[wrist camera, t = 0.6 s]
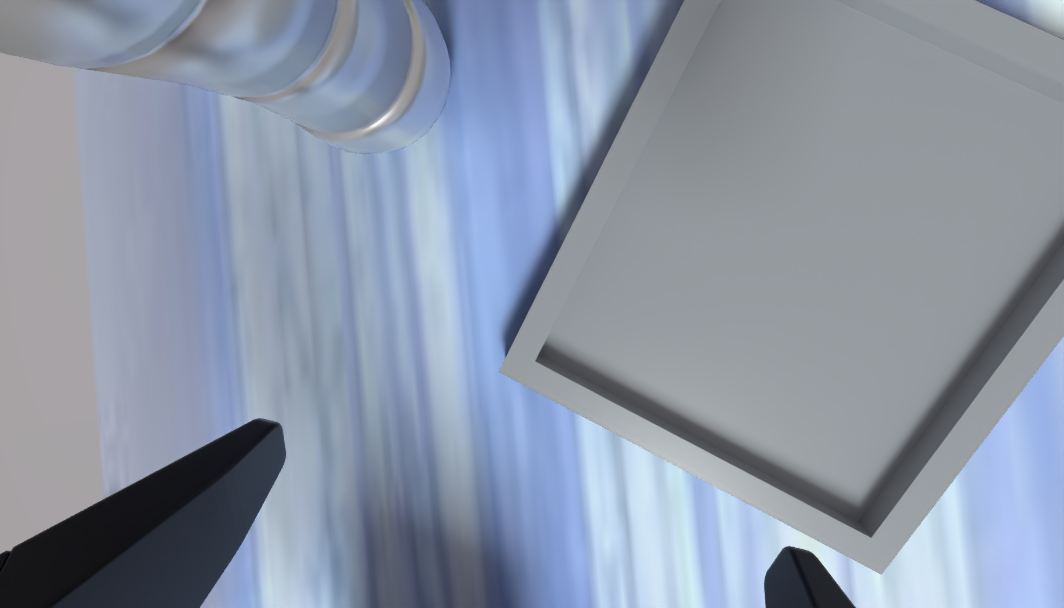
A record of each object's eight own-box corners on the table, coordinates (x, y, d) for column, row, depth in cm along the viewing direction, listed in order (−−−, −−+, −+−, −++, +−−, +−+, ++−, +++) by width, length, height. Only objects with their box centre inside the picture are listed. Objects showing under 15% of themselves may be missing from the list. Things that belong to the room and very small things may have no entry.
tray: (863, 550, 23) (881, 574, 21) (506, 361, 24) (498, 371, 22) (1180, 123, 19) (1232, 115, 17) (727, -81, 20) (737, -107, 18)
